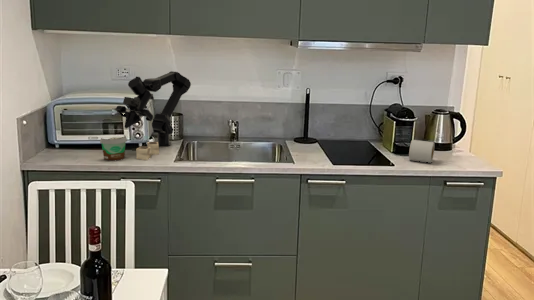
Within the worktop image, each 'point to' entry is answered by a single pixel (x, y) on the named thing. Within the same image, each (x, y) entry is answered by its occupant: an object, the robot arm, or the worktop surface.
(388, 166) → the worktop surface
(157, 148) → the number block
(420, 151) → the toilet paper
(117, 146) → the food container
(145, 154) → the number block
